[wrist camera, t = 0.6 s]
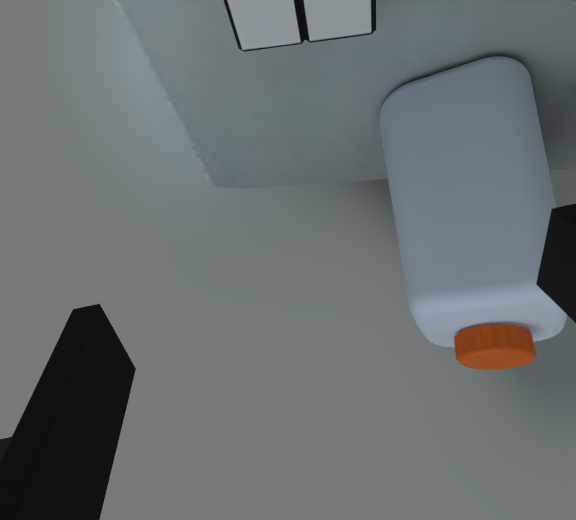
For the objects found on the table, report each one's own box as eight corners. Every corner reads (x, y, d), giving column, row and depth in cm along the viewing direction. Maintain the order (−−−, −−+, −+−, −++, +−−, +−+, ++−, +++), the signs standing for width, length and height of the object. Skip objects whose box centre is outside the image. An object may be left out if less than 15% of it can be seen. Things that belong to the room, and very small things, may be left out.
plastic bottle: (528, 36, 39) (625, 322, 26) (526, 144, 51) (592, 378, 38) (369, 89, 45) (381, 342, 32) (400, 174, 57) (419, 384, 44)
